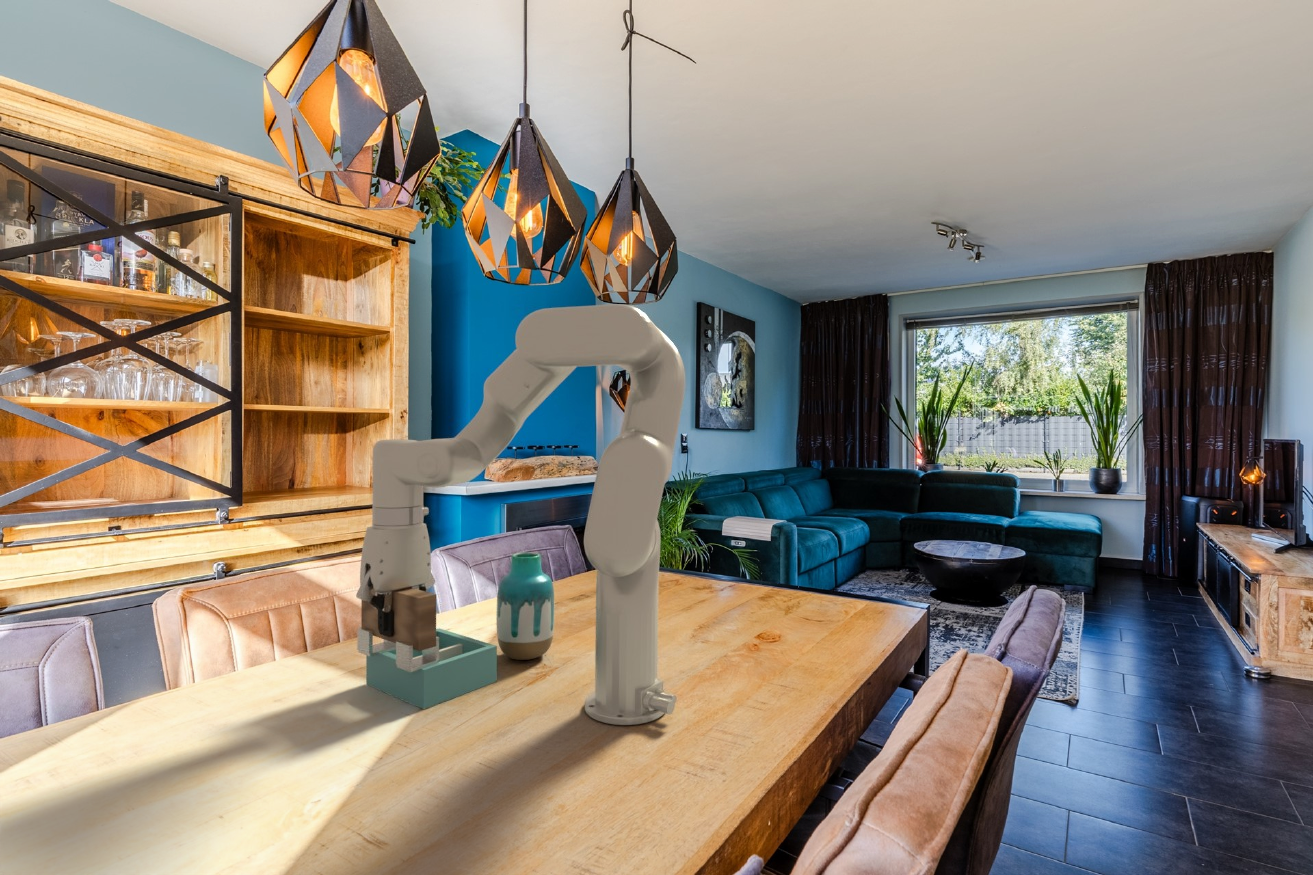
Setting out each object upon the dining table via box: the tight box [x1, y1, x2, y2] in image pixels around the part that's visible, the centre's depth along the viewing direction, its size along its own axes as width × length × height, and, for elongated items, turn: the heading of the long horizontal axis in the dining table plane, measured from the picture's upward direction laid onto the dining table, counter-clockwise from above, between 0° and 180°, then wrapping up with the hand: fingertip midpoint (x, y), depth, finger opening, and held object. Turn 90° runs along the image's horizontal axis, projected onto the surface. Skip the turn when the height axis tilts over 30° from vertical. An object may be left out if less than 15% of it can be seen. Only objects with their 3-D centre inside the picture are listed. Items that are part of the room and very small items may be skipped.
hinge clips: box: [356, 626, 439, 672], centre depth 105 cm, size 14×5×4 cm, turn 54°
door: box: [360, 588, 437, 651], centre depth 105 cm, size 16×3×8 cm, turn 54°
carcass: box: [365, 627, 498, 710], centre depth 110 cm, size 16×14×6 cm
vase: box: [496, 552, 556, 661], centre depth 123 cm, size 11×11×19 cm
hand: (397, 631), depth 105 cm, fingers closed on door, 3 cm apart
